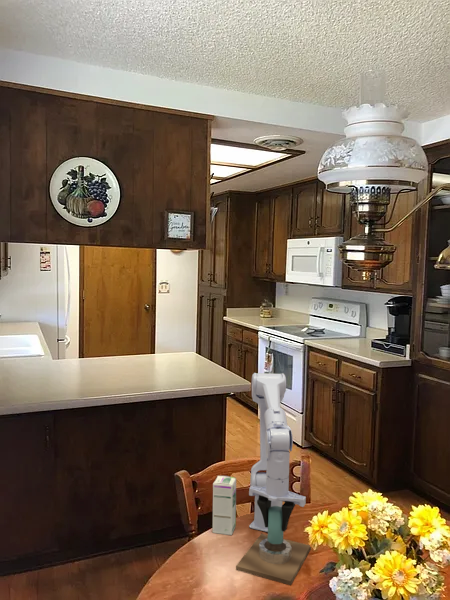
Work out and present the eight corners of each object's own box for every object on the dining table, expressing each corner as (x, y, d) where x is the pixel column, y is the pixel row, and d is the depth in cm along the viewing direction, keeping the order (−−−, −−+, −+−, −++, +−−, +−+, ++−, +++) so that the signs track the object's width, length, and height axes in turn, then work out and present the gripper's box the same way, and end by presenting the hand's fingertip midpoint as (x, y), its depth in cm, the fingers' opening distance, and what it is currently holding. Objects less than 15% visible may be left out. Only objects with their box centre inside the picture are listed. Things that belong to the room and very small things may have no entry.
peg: (270, 534, 134) (271, 504, 134) (285, 538, 132) (286, 508, 132) (265, 541, 131) (266, 510, 130) (280, 545, 129) (281, 514, 128)
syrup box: (232, 535, 143) (233, 484, 142) (211, 533, 144) (212, 482, 144) (235, 526, 149) (237, 476, 148) (215, 523, 150) (217, 474, 149)
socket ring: (265, 544, 137) (265, 535, 137) (294, 551, 134) (294, 542, 134) (254, 559, 130) (255, 549, 130) (285, 567, 126) (285, 557, 126)
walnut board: (261, 536, 143) (261, 533, 143) (310, 549, 137) (310, 545, 137) (235, 569, 126) (236, 565, 126) (290, 585, 121) (290, 581, 121)
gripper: (245, 475, 130) (243, 528, 131) (300, 486, 124) (299, 541, 125) (255, 466, 137) (253, 516, 137) (308, 476, 131) (306, 528, 131)
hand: (275, 527), depth 131 cm, fingers closed on peg, 4 cm apart
